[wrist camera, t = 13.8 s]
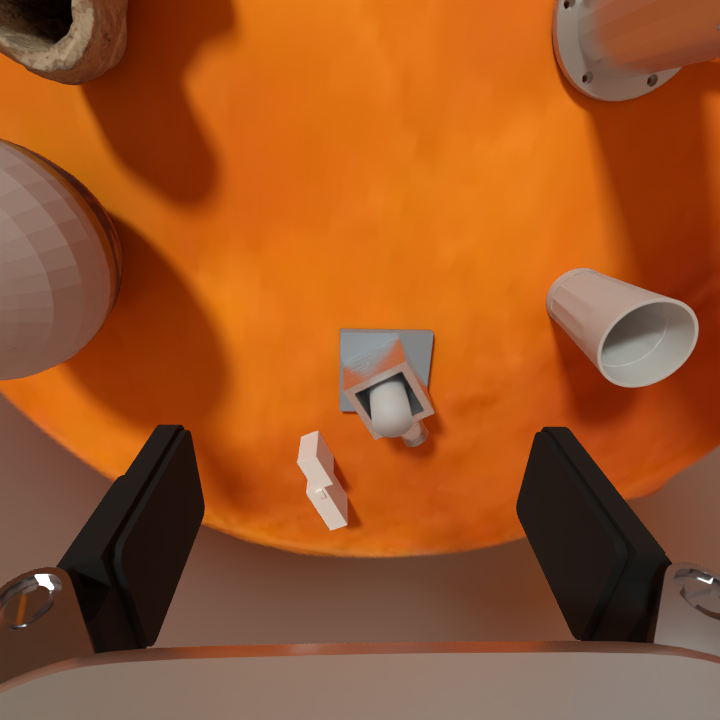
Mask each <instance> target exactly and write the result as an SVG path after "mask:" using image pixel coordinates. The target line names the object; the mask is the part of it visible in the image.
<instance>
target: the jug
mask: <svg viewBox="0 0 720 720" xmlns="http://www.w3.org/2000/svg"><path fill="white" fill-rule="evenodd" d="M122 270H123V258H122V250H121V245H120V241H119V238H118V235H117V232H116V230H115V227H114V225H113V223H112V221H111V219H110V218H109V216H108V214H107V212H106V211H105V209H104V208H103V207H102V205H101V204H100V202H99V201H98V200H97V198H96V197H95V196H94V195H93V194H92V193H91V192H90V191H89V190H88V189H87V187H85V186H84V185H83V184H82V183H81V182H80V181H79V180H77V179H76V178H75V177H74V176H73V175H71V174H70V173H68V172H67V171H65V170H64V169H62V168H61V167H59V166H58V165H56V164H54V163H53V162H51V161H50V160H48V159H46V158H45V157H43V156H41V155H39V154H37V153H35V152H33V151H31V150H29V149H27V148H25V147H23V146H20V145H17V144H14V143H11V142H9V141H6V140H3V139H0V380H10V379H18V378H24V377H27V376H30V375H34V374H37V373H40V372H42V371H44V370H47V369H49V368H51V367H54V366H56V365H58V364H60V363H62V362H64V361H66V360H68V359H70V358H71V357H72V356H74V355H75V354H76V353H78V352H79V351H80V350H81V349H82V348H83V347H84V346H85V345H86V344H87V343H88V342H90V341H91V340H92V339H93V337H94V336H95V335H96V334H97V333H98V332H99V330H100V329H101V328H102V326H103V324H104V323H105V321H106V319H107V317H108V315H109V313H110V312H111V310H112V308H113V306H114V304H115V302H116V300H117V296H118V293H119V290H120V284H121V278H122Z"/></svg>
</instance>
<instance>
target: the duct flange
mask: <svg viewBox="0 0 720 720" xmlns="http://www.w3.org/2000/svg"><path fill="white" fill-rule="evenodd" d="M398 335H399V336H400V338H401V340H402V342H403V344H404V346H405V347H406V349H407V351H408V353H409V355H410V357H411V358H412V360H413V362H414V364H415V366H416V368H417V369H418V371H419V373H420V375H421V377H422V379H423V380H424V382H425V385H426V388H427V386H428V377H429V369H430V360H431V352H432V343H433V335H434V334H433V331H432V330H384V329H340V411H356V410H355V409H354V407H353V406H352V404H351V403H350V401H349V400H348V398H347V396H346V395H345V393H344V392H343V363H344V362H346V361H348V360H350V359H352V358H354V357H356V356H358V355H360V354H362V353H364V352H366V351H368V350H370V349H372V348H374V347H376V346H378V345H380V344H382V343H384V342H386V341H388V340H390V339H392V338H394V337H396V336H398ZM408 384H409V383H408V381H407V379H406V377H405V376H404V374H403V372H402V371H401V372H399V373H397V374H395V375H393V376H391V377H389V378H387V379H384V380H382V381H380V382H378V383H376V384H374V385H372V386H370V387H368V390H369V396H370V407H371V418H372V426H373V428H374V430H375V431H376V432H377V433H378V434H379V435H381V436H384V437H388V438H394V437H399V436H401V435H403V434H405V433H406V432H407V431H408V430H409V429H410V428H411V426H412V422H413V418H412V413H411V409H410V405H409V401H408V397H407V393H406V389H405V386H406V385H408Z"/></svg>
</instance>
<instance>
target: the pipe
mask: <svg viewBox="0 0 720 720" xmlns="http://www.w3.org/2000/svg"><path fill="white" fill-rule="evenodd" d="M128 1H129V0H0V52H1V53H2V54H4V55H5V56H7V57H9V58H10V59H12V60H13V61H15V62H17V63H19V64H22V65H24V67H25V68H26V69H27V70H28V71H30V72H32V73H34V74H37V75H39V76H41V77H43V78H46V79H49V80H53V81H56V82H59V83H62V84H67V85H79V84H82V83H84V82H88V81H91V80H94V79H96V78H98V77H100V76H102V75H103V74H104V73H105V72H106V71H107V70H108V69H111V68H113V67H115V66H116V65H118V63H119V62H120V60H121V59H122V57H123V55H124V52H125V50H126V45H127V23H126V14H127V8H128Z"/></svg>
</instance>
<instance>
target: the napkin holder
mask: <svg viewBox="0 0 720 720" xmlns="http://www.w3.org/2000/svg"><path fill="white" fill-rule="evenodd" d="M297 463H298V465H299V466H300V468H301V470H302V471H303V473H304V474H305V476H306V477H307V479H308V482H307V491H306V494H307V496H308V497H309V499H310V500H311V502H312V503H313V505H314V506H315V508H316V509H317V511H318V512H319V514H320V515H321V517H322V518H323V520H324V521H325V523H326V524H327V526H328V528H329V529H330V531H331V530H334V529H337V528H340V527H343V526H346V525H348V503H347V495H346V493H345V491H344V490H343V488H342V486H341V484H340V483H339V481H338V479H337V478H336V476H335V474H334V473H333V471H334V456H333V454H332V453H331V451H330V449H329V448H328V446H327V444H326V442H325V441H324V439H323V437H322V436H321V434H320V432H319V430H318V431H315V432H313V433H310V434H307V435H305V436H302V437H301V442H300V449H299V455H298V462H297Z"/></svg>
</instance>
